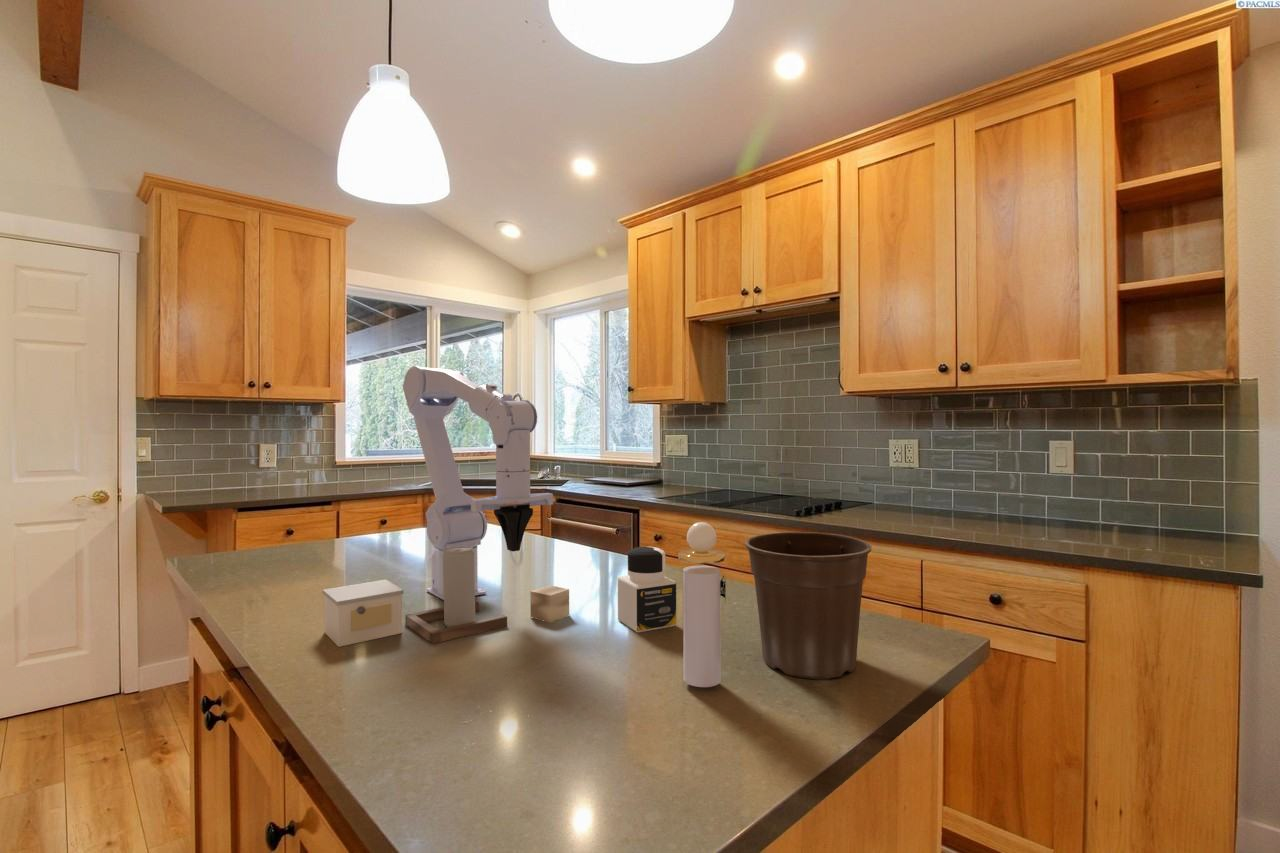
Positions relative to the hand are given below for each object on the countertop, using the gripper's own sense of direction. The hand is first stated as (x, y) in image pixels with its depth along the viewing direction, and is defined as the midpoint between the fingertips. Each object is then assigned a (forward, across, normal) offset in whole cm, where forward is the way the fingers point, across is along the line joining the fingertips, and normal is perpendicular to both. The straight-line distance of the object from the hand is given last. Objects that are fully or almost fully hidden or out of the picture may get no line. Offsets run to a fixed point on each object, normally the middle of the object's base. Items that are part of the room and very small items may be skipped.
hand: (513, 550), depth 105 cm
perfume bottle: (+11, +4, -42) cm, 43 cm away
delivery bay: (+10, -11, -1) cm, 15 cm away
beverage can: (+10, -10, -1) cm, 15 cm away
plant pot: (+11, +20, -45) cm, 51 cm away
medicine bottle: (+11, +13, -20) cm, 26 cm away
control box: (+10, -23, +5) cm, 26 cm away
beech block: (+10, +3, -7) cm, 13 cm away
